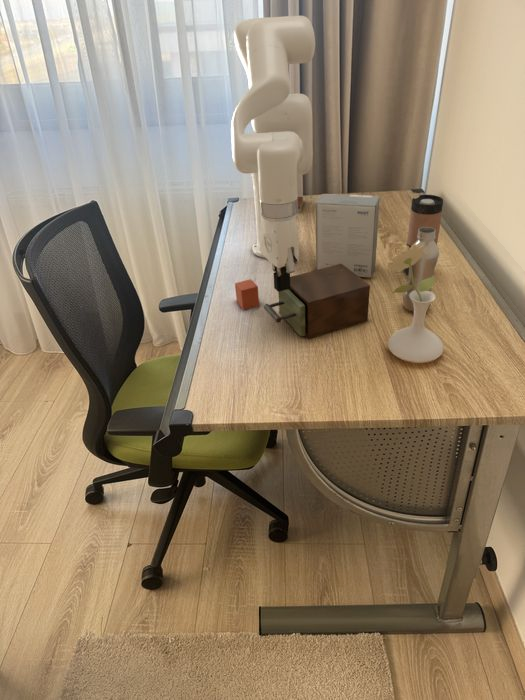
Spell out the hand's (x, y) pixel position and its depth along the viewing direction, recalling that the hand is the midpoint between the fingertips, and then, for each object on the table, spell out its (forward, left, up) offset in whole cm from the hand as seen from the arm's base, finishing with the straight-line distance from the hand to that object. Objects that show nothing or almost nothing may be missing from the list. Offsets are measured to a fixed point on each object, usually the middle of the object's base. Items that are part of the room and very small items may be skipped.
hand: (282, 288), depth 113 cm
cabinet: (0, +11, -11) cm, 16 cm away
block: (-15, -3, -11) cm, 19 cm away
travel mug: (-8, +44, -11) cm, 46 cm away
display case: (-72, +35, -11) cm, 81 cm away
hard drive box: (-19, +28, -11) cm, 36 cm away
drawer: (0, +6, -10) cm, 12 cm away
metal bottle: (+7, +32, -11) cm, 35 cm away
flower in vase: (+21, +20, -11) cm, 31 cm away
